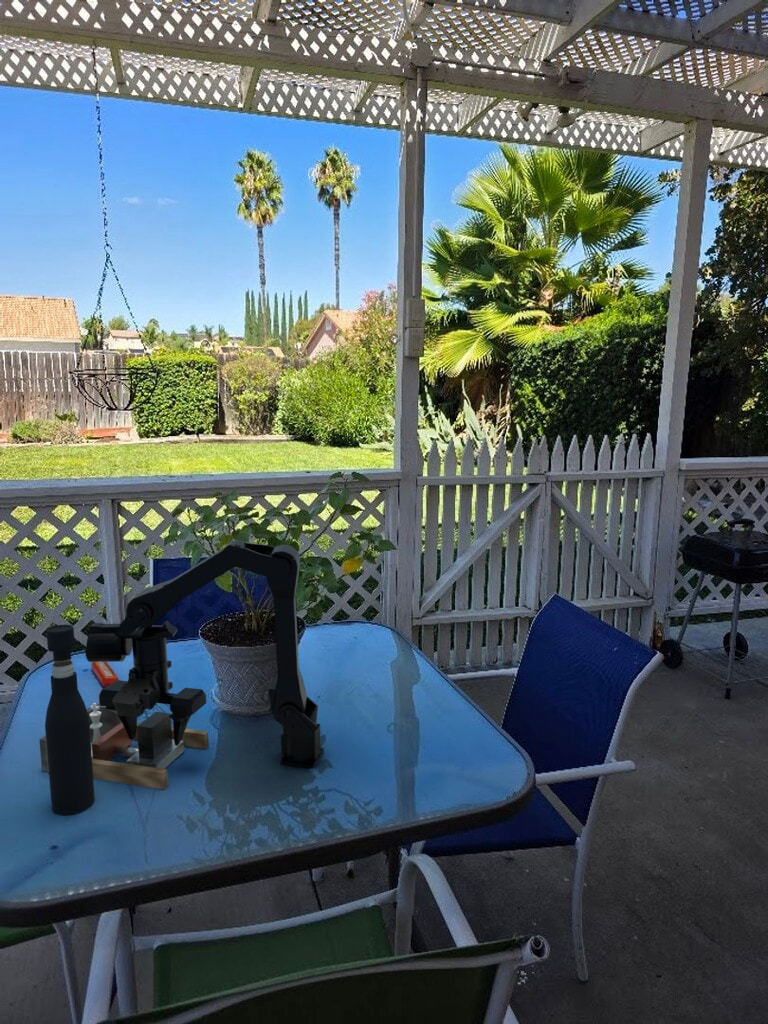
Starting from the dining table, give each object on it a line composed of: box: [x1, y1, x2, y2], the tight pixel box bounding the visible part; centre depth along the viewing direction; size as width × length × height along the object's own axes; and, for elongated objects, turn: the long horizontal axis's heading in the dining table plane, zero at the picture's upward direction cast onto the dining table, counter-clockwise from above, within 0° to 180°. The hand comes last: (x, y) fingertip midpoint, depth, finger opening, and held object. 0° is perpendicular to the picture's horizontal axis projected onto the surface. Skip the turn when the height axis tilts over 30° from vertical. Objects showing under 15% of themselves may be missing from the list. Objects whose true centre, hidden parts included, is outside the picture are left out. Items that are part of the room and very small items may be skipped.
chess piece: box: [89, 702, 102, 759], centre depth 127 cm, size 5×5×10 cm
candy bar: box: [90, 662, 119, 687], centre depth 163 cm, size 16×4×3 cm, turn 34°
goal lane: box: [38, 702, 210, 790], centre depth 125 cm, size 25×15×6 cm, turn 76°
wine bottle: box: [44, 624, 96, 816], centre depth 109 cm, size 6×6×30 cm
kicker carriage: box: [91, 711, 185, 769], centre depth 124 cm, size 13×9×8 cm
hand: (155, 741), depth 124 cm, fingers open, 9 cm apart
